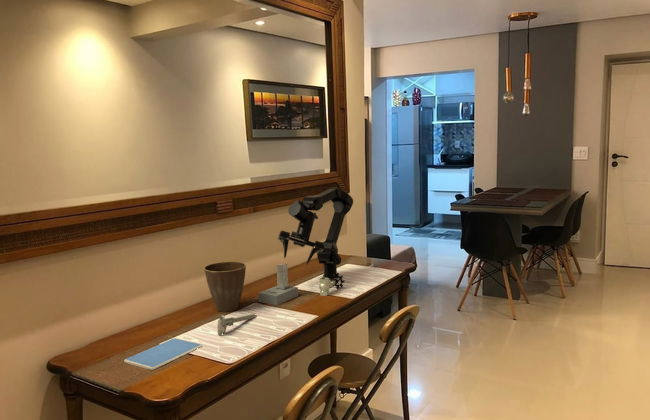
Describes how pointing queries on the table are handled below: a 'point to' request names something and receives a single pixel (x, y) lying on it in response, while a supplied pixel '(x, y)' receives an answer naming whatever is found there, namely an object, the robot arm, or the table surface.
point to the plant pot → (226, 284)
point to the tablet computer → (162, 354)
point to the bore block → (277, 295)
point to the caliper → (231, 322)
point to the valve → (329, 284)
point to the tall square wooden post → (282, 276)
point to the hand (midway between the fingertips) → (295, 261)
